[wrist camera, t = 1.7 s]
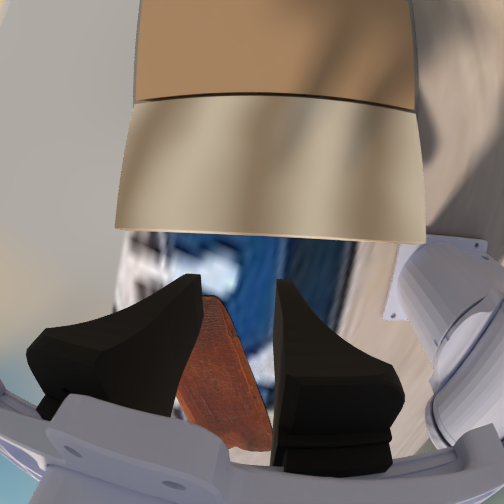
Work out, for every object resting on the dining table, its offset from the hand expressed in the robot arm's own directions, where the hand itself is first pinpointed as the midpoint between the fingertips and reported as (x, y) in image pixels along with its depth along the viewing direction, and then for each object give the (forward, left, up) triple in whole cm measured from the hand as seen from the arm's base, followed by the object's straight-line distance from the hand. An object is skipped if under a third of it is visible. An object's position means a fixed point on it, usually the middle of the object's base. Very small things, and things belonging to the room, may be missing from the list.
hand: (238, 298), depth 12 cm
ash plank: (-1, -4, -7) cm, 9 cm away
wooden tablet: (+4, +20, -11) cm, 23 cm away
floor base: (-1, -9, -10) cm, 14 cm away
